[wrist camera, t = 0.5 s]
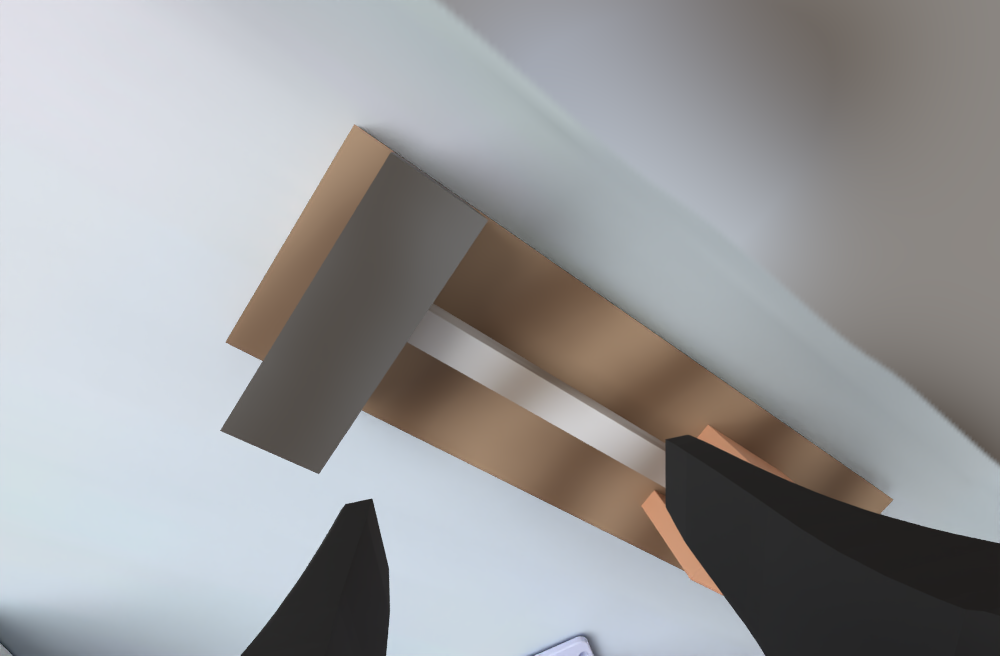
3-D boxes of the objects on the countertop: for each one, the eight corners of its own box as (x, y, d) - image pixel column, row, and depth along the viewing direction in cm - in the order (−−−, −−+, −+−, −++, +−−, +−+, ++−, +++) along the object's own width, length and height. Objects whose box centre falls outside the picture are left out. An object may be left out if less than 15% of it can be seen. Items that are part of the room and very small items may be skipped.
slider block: (783, 473, 25) (858, 536, 21) (718, 547, 26) (778, 622, 22) (708, 424, 24) (773, 483, 19) (641, 505, 24) (690, 579, 20)
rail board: (874, 485, 28) (993, 571, 23) (767, 601, 30) (854, 709, 24) (357, 126, 18) (335, 114, 12) (235, 331, 20) (165, 406, 14)
